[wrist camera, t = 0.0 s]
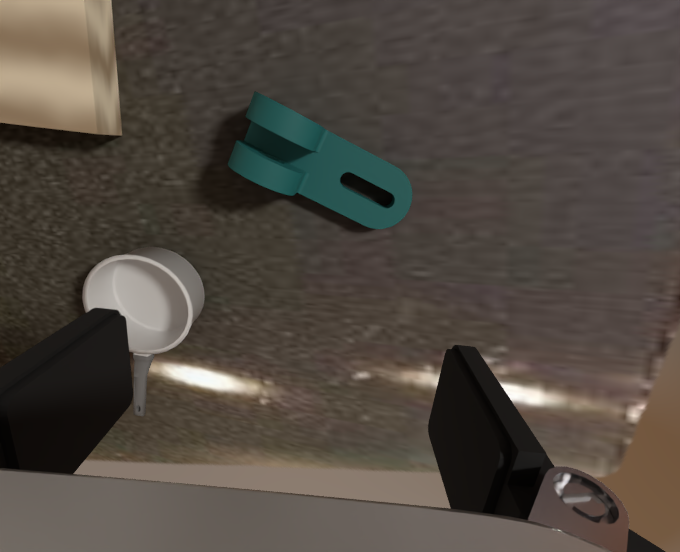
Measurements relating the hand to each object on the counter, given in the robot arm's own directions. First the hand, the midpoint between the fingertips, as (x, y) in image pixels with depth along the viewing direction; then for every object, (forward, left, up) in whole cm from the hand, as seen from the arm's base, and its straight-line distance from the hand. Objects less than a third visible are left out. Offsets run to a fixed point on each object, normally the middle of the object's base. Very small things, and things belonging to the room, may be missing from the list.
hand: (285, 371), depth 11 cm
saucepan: (+16, -19, -32) cm, 40 cm away
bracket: (-4, 0, -32) cm, 32 cm away
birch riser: (-12, -29, -31) cm, 44 cm away
